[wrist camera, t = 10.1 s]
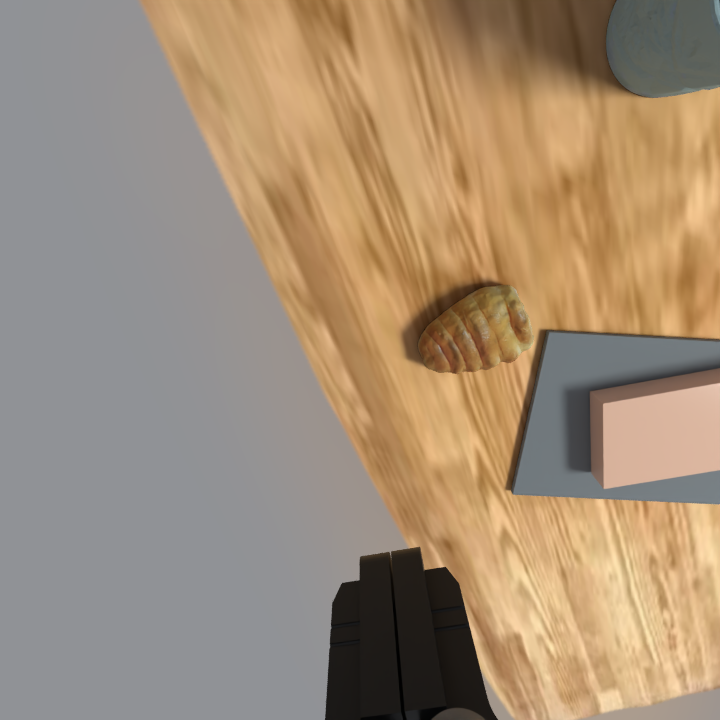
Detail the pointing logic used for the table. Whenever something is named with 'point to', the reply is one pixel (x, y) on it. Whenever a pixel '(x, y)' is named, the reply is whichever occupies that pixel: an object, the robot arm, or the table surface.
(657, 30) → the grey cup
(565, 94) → the table surface
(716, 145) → the table surface
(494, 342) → the pastry
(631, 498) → the mat
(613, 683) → the table surface
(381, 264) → the table surface
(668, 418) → the tile
